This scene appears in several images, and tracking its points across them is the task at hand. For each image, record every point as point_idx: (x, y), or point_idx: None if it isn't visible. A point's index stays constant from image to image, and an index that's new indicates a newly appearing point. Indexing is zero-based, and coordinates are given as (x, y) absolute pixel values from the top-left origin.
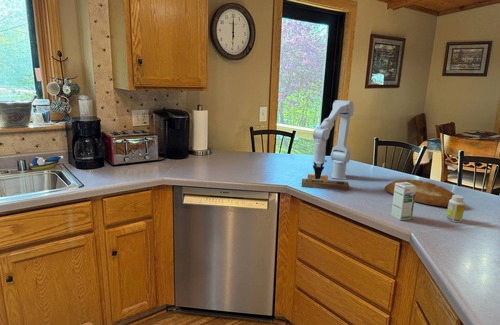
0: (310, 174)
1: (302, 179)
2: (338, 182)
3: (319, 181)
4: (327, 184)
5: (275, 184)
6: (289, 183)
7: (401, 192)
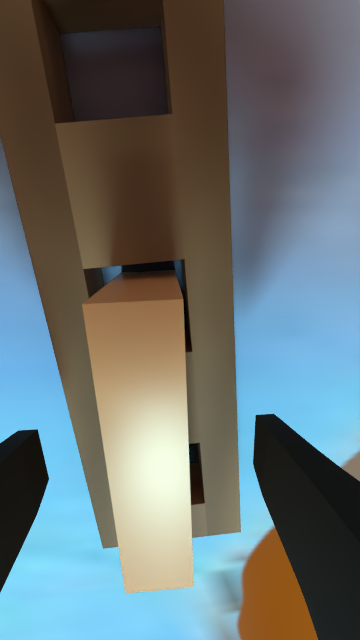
0: (159, 563)
1: None
2: (51, 94)
3: None
4: (229, 275)
5: (224, 629)
6: None
7: None
